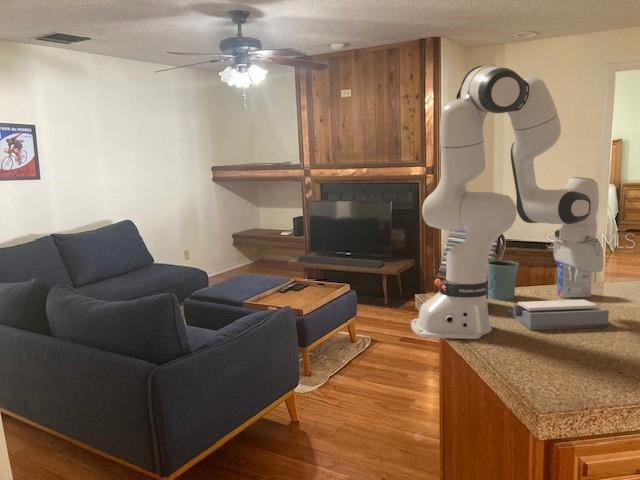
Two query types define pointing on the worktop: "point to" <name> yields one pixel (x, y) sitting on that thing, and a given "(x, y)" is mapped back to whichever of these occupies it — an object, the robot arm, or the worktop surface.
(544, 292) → the worktop surface
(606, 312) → the grooved grey base
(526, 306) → the cover
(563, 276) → the ink cartridge box
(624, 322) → the worktop surface
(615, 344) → the worktop surface
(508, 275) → the teal cup
